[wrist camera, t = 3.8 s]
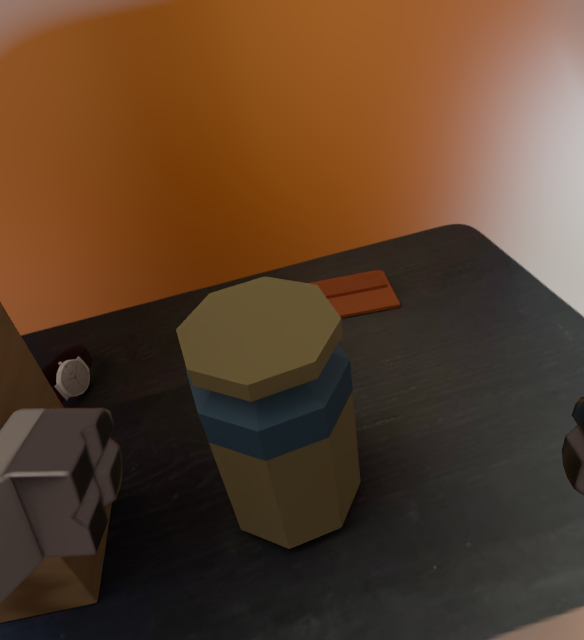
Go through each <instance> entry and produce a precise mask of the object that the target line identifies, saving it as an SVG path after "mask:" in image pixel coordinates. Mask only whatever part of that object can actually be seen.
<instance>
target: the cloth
mask: <svg viewBox="0 0 584 640" xmlns="http://www.w3.org/2000/svg"><path fill="white" fill-rule="evenodd" d="M308 284H314V285H318V287H319V288H320V290H321V291H322V292H323V294H324V295H325V296H326V298H327V299H328V301H329V302H330V303H331V305H332V306H333V307H334V309H335V310H336V312H337V313H338V314H339V316H340V317H341V318H346V317H351V316H357V315H362V314H367V313H372V312H377V311H382V310H387V309H393V308H398V307H400V302H399V300H398V298H397V297H396V295H395V293H394V291H393V289H392V287H391V285H390V283H389V281H388V279H387V277H386V276H385V274H384V272H383V271H380V270H374V271H369V272H364V273H359V274H354V275H348V276H343V277H338V278H333V279H328V280H322V281H317V282H312V283H308Z"/></svg>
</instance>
